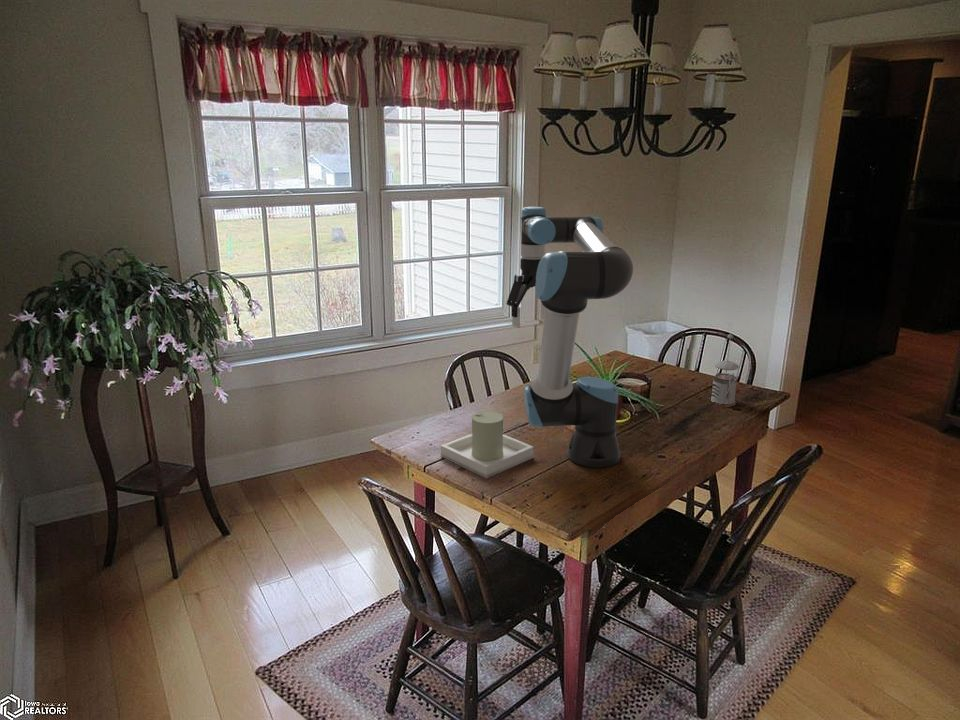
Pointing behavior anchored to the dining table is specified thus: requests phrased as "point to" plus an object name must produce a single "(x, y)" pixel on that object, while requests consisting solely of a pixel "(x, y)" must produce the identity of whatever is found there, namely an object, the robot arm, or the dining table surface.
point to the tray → (462, 456)
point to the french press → (724, 382)
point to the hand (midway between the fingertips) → (530, 323)
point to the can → (487, 435)
